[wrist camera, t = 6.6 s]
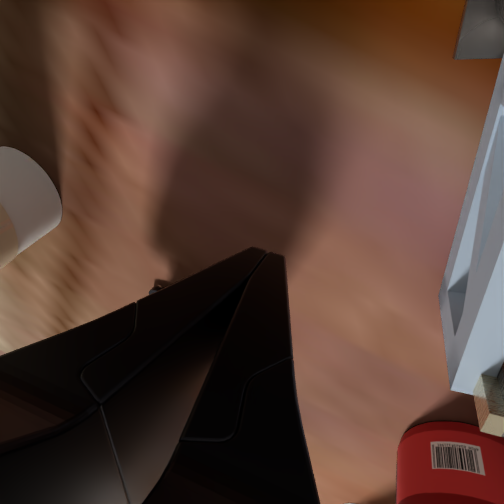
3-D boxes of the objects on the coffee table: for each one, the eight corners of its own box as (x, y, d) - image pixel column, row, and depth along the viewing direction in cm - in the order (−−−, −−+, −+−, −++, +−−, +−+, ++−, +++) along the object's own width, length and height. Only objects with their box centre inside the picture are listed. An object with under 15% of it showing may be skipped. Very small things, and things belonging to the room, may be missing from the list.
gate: (503, 52, 12) (564, 73, 7) (545, 50, 12) (637, 69, 7) (438, 295, 18) (450, 389, 13) (465, 299, 17) (486, 398, 13)
